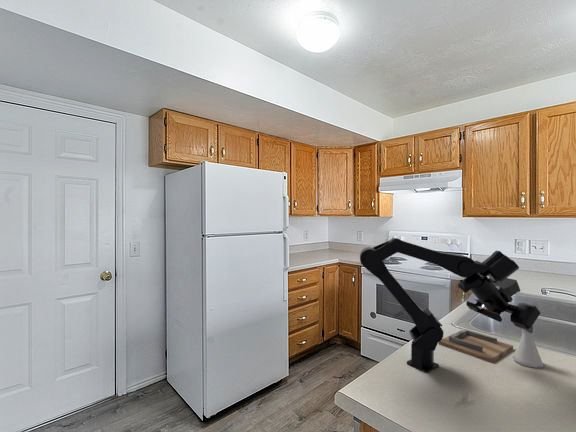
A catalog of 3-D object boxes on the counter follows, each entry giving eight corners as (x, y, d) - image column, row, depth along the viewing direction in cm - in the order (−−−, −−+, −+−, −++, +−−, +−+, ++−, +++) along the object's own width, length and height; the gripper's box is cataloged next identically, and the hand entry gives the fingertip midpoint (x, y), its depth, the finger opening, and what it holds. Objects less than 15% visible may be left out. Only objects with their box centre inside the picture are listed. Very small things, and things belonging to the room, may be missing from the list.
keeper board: (491, 362, 89) (491, 353, 89) (438, 344, 102) (438, 336, 102) (513, 349, 98) (513, 340, 98) (461, 333, 111) (461, 326, 111)
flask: (549, 370, 85) (549, 334, 85) (520, 367, 86) (520, 332, 86) (534, 358, 92) (534, 325, 92) (507, 356, 94) (507, 323, 94)
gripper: (534, 275, 78) (566, 314, 80) (473, 264, 96) (501, 296, 98) (511, 309, 76) (544, 347, 78) (452, 291, 94) (481, 323, 96)
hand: (515, 326), depth 88 cm, fingers open, 9 cm apart
